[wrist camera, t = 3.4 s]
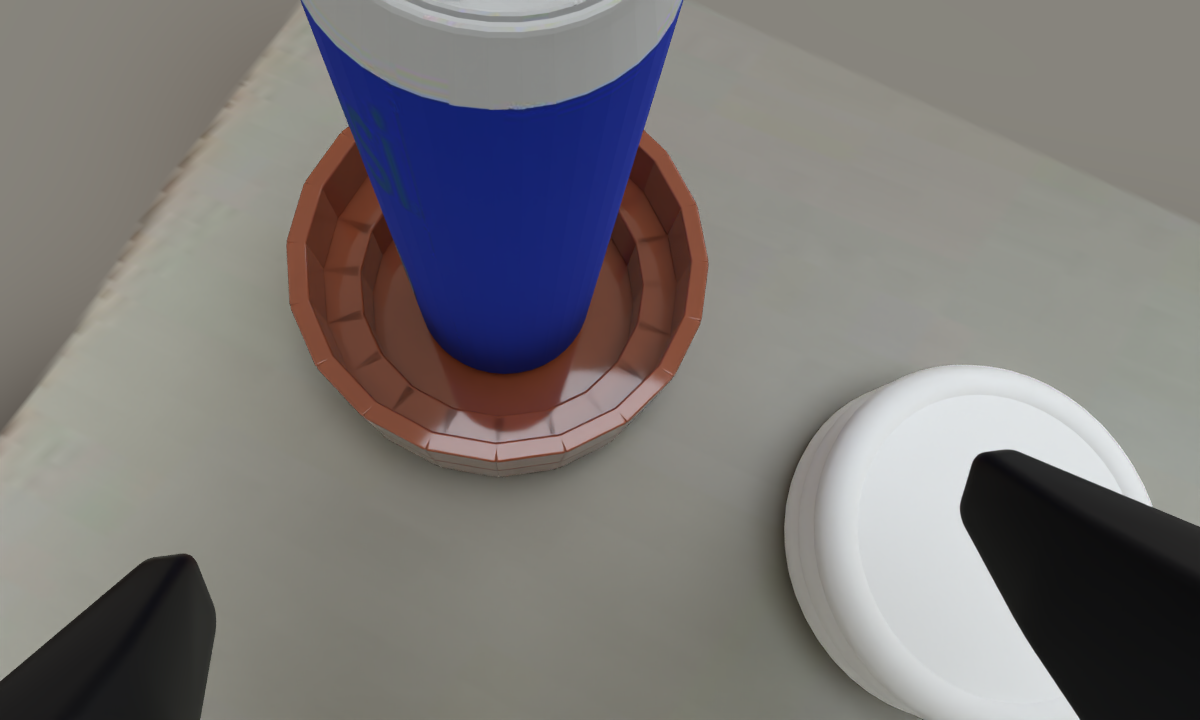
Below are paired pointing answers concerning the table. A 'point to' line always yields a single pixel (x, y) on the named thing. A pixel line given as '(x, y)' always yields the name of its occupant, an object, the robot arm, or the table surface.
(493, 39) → the beverage can
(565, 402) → the bowl
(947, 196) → the table surface
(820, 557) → the coaster
